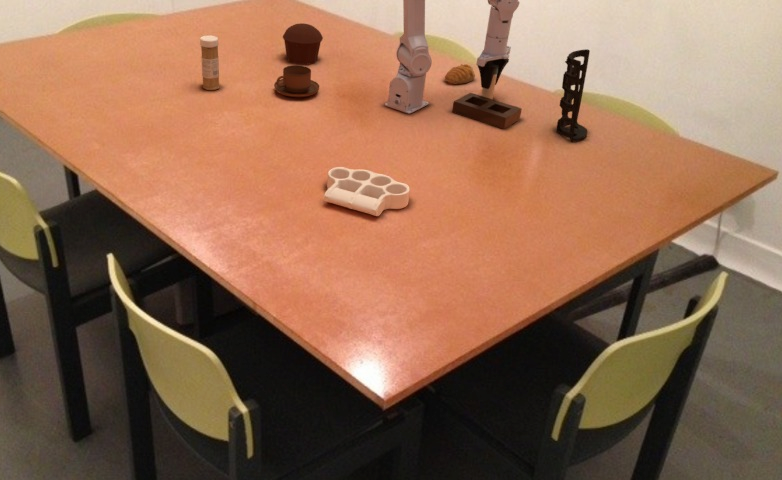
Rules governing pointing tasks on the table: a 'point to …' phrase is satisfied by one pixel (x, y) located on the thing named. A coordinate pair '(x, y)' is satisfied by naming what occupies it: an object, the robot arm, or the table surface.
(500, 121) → the block
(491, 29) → the robot arm
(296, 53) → the muffin
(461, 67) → the pastry
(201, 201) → the table surface
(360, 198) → the knuckle duster
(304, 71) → the cup and saucer
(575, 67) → the holder
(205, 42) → the sprinkles bottle
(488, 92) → the marker
